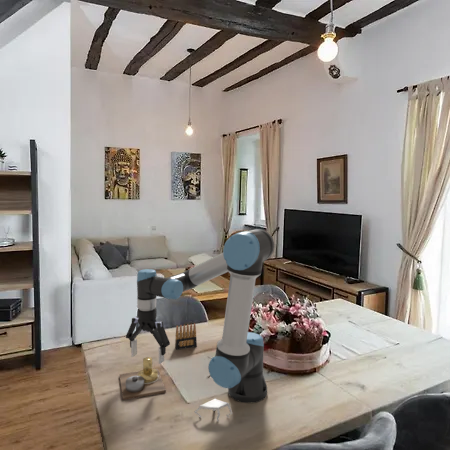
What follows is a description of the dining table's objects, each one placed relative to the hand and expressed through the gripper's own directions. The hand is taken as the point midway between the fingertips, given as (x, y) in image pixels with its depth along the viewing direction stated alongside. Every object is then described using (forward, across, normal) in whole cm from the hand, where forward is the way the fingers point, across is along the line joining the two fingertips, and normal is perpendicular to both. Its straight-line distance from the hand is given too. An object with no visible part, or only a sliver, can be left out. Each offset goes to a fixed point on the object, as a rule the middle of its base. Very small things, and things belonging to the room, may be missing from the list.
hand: (147, 358), depth 148 cm
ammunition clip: (+10, +2, -34) cm, 35 cm away
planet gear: (+8, 0, 0) cm, 8 cm away
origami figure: (+10, -35, +10) cm, 37 cm away
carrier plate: (+9, 0, +4) cm, 10 cm away
